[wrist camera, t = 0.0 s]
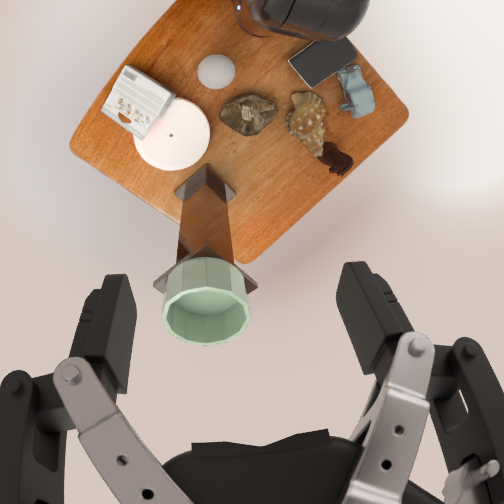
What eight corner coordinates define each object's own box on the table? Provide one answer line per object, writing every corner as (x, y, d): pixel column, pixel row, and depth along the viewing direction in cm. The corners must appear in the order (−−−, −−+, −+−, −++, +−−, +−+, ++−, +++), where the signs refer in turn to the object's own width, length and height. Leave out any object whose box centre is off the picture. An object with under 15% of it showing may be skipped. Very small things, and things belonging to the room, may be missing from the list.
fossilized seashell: (282, 94, 52) (227, 82, 51) (278, 118, 49) (218, 105, 49) (273, 122, 59) (222, 111, 58) (269, 147, 56) (214, 135, 55)
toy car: (353, 63, 51) (364, 66, 47) (367, 109, 57) (378, 115, 53) (323, 73, 52) (333, 76, 48) (339, 118, 58) (349, 125, 54)
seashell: (326, 112, 60) (344, 148, 56) (290, 128, 63) (304, 164, 59) (313, 82, 52) (332, 118, 48) (273, 100, 55) (287, 137, 51)
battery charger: (308, 88, 54) (356, 55, 49) (311, 90, 51) (361, 56, 46) (285, 59, 51) (333, 26, 46) (286, 60, 48) (338, 25, 43)
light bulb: (198, 83, 51) (196, 92, 43) (199, 53, 48) (196, 55, 40) (231, 83, 52) (235, 91, 44) (233, 52, 49) (237, 54, 41)
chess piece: (312, 150, 62) (328, 169, 54) (332, 136, 60) (351, 154, 53) (323, 166, 64) (340, 188, 56) (343, 153, 63) (362, 173, 55)
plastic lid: (186, 177, 62) (185, 182, 60) (124, 146, 56) (121, 150, 54) (224, 118, 56) (225, 122, 54) (159, 83, 50) (156, 84, 48)
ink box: (177, 94, 48) (149, 140, 53) (131, 65, 47) (107, 109, 52) (171, 94, 46) (142, 141, 51) (124, 64, 45) (99, 110, 49)
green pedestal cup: (168, 191, 64) (144, 318, 37) (206, 157, 60) (207, 272, 34) (203, 222, 69) (205, 354, 43) (241, 192, 66) (267, 318, 40)
